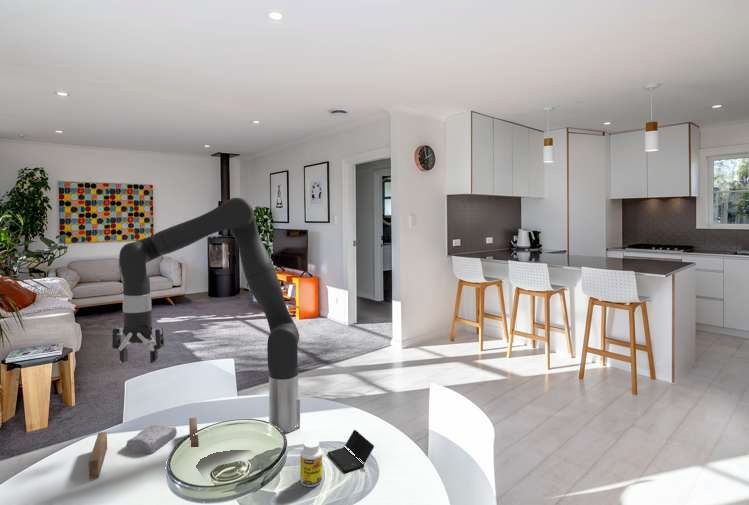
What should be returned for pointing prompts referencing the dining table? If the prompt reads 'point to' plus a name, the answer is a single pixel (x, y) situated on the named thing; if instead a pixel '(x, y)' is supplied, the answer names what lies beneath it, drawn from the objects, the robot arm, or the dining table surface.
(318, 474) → the supplement bottle
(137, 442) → the stone block
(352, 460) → the handheld gaming console
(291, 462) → the dining table surface
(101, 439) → the walnut chute
